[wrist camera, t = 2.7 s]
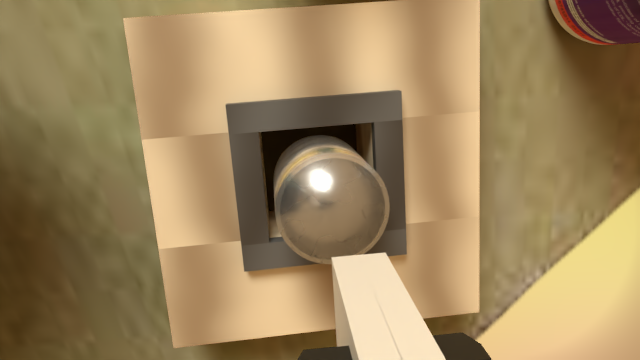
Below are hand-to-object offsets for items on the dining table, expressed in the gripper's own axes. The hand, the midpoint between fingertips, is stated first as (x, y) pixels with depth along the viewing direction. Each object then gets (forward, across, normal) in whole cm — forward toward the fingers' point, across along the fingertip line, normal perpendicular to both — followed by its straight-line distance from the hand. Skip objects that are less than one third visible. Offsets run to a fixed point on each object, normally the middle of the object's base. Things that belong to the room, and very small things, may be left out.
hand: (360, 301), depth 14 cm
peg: (+14, 0, 0) cm, 14 cm away
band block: (+19, 0, 0) cm, 19 cm away
